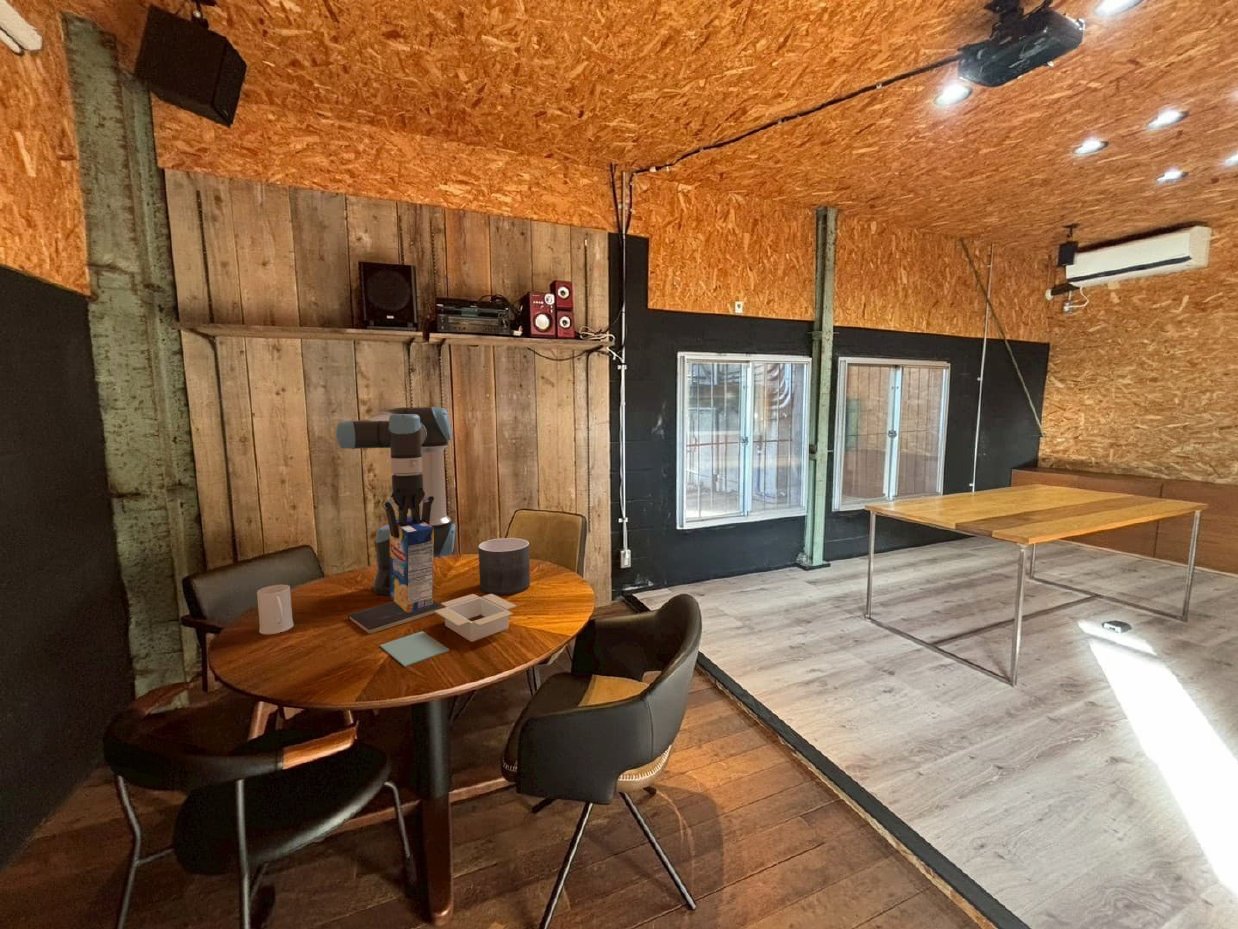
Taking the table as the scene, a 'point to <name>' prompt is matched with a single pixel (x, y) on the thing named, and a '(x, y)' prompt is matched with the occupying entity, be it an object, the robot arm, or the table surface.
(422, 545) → the beverage box
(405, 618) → the hardcover book
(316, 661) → the table surface
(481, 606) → the carton
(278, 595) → the mug
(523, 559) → the planter
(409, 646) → the mat
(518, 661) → the table surface
